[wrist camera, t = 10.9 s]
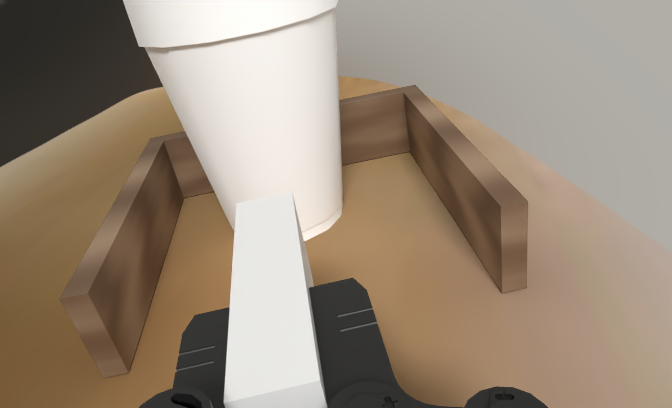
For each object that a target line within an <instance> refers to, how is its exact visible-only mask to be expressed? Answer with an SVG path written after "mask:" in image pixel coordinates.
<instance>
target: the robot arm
mask: <svg viewBox="0 0 672 408" xmlns="http://www.w3.org/2000/svg"><path fill="white" fill-rule="evenodd" d="M179 354H180V356H178V362H177V367H176V369H177V372H176V373H175V379H174V384H173V388H172V389H170V390H167V391H164V392H162V393H159V394H157V395H155V396H154V397H152V398H151V399H149V400H148V401H146V402H145V403H143V404H142V405H141V406H140V407H139V408H462V407H445V406H435V405H429V404H425V403H423V402H420V401H418V400H415V399H414V398H412V397H411V396H409V395H408V394H406V393H405V392H404V391H403V390H402V389H401V387H400V386H399V385H398V383H397V381H396V379H395V377H394V374H393V371H392V368H391V365H390V362H389V358H388V355H387V352H386V349H385V346H384V343H383V340H382V336H381V333H380V330H379V327H378V324H377V321H376V318H375V314H374V311H373V309H372V305H371V302H370V299H369V296H368V293H367V290H366V289H365V288H364V287H363V286H362V285H360V284H359V283H358V282H357V281H356V280H355V279H354V278H350V279H345V280H341V281H337V282H332V283H328V284H323V285H319V286H315V287H314V285H313V279H312V273H311V269H310V265H309V261H308V256H307V252H306V248H305V244H304V240H303V235H302V231H301V227H300V223H299V219H298V215H297V210H296V206H295V202H294V198H293V194H292V191H291V192H287V193H282V194H278V195H273V196H268V197H264V198H259V199H255V200H250V201H245V202H241V203H236V218H235V233H234V249H233V264H232V280H231V295H230V307H229V308H224V309H220V310H215V311H211V312H207V313H202V314H198V315H195V316H194V317H193V319H192V320H191V322H190V323H189V325H188V326H187V328H186V329H185V331H184V332H183V334H182V339H181V345H180V351H179ZM464 408H548V407H547V406H546V405H545V404H544V403H542V402H541V401H540V400H538V399H537V398H536V397H534V396H533V395H532V394H530V393H527V392H525V391H522V390H519V389H516V388H513V387H493V388H489V389H485V390H482V391H479V392H478V393H477V394H475V395H474V396H473V397H471V398H470V399H469V400H468V401H467V403H466V405H465V407H464Z"/></svg>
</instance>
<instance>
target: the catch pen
mask: <svg viewBox="0 0 672 408" xmlns="http://www.w3.org/2000/svg"><path fill="white" fill-rule="evenodd" d="M339 109H340V134H341V160H342V165H346V164H351V163H355V162H360V161H365V160H370V159H375V158H380V157H385V156H390V155H394V154H399V153H404V152H409V151H410V152H411V154H412V156H413V157H414V159H415V160H416V162H417V163H418V165H419V166H420V168H421V169H422V171H423V172H424V174H425V176H426V177H427V179H428V180H429V182H430V183H431V185H432V186H433V188H434V189H435V191H436V192H437V194H438V196H439V197H440V199H441V200H442V202H443V203H444V205H445V206H446V208H447V209H448V211H449V212H450V214H451V215H452V217H453V219H454V220H455V222H456V223H457V225H458V226H459V228H460V229H461V231H462V232H463V234H464V235H465V237H466V239H467V240H468V242H469V243H470V245H471V246H472V248H473V249H474V251H475V252H476V254H477V255H478V257H479V259H480V260H481V262H482V263H483V265H484V266H485V268H486V269H487V271H488V272H489V274H490V275H491V277H492V279H493V280H494V282H495V283H496V285H497V286H498V288H499V289H500V291H501V292H502V293H506V292H511V291H515V290H520V289H525V288H527V229H528V201H527V200H526V199H525V198H524V197H523V196H522V195H521V193H520V192H519V191H518V190H517V189H516V188H515V187H514V186H513V185H512V184H511V183H510V182H509V181H508V180H507V179H506V178H505V177H504V176H503V175H502V174H501V173H500V172H499V171H498V170H497V169H496V168H495V167H494V166H493V165H492V164H491V163H490V162H489V161H488V159H487V158H486V157H485V156H484V155H483V154H482V153H481V152H480V151H479V150H478V149H477V148H476V147H475V146H474V145H473V144H472V143H471V142H470V141H469V140H468V139H467V138H466V137H465V136H464V135H463V134H462V133H461V132H460V131H459V130H458V129H457V128H456V126H455V125H454V124H453V123H452V122H451V121H450V120H449V119H448V118H447V117H446V116H445V115H444V114H443V113H442V112H441V111H440V110H439V109H438V108H437V107H436V106H435V105H434V104H433V103H432V102H431V101H430V100H429V99H428V98H427V97H426V96H425V95H424V94H423V92H421V90H420V89H419V88H418V87H417V86H416V85H412V86H407V87H402V88H397V89H392V90H387V91H382V92H378V93H373V94H368V95H363V96H358V97H353V98H348V99H343V100H339ZM209 192H214V190H213V188H212V186H211V184H210V181H209V179H208V177H207V175H206V173H205V171H204V169H203V167H202V165H201V163H200V161H199V159H198V157H197V155H196V153H195V150H194V148H193V146H192V144H191V142H190V140H189V138H188V136H187V134H186V132H180V133H175V134H170V135H165V136H160V137H155V138H151V139H150V140H149V142H148V144H147V146H146V147H145V149H144V151H143V153H142V155H141V156H140V158H139V160H138V162H137V163H136V165H135V167H134V169H133V170H132V172H131V174H130V176H129V177H128V179H127V181H126V183H125V184H124V186H123V188H122V190H121V192H120V193H119V195H118V197H117V199H116V200H115V202H114V204H113V206H112V207H111V209H110V211H109V213H108V214H107V216H106V218H105V220H104V221H103V223H102V225H101V227H100V229H99V230H98V232H97V234H96V236H95V237H94V239H93V241H92V243H91V244H90V246H89V248H88V250H87V251H86V253H85V255H84V257H83V258H82V260H81V262H80V264H79V266H78V267H77V269H76V271H75V273H74V274H73V276H72V278H71V280H70V281H69V283H68V285H67V287H66V288H65V290H64V292H63V294H62V295H61V297H60V301H61V303H62V304H63V306H64V308H65V310H66V312H67V313H68V315H69V317H70V319H71V321H72V323H73V324H74V326H75V328H76V330H77V332H78V333H79V335H80V337H81V339H82V341H83V342H84V344H85V346H86V348H87V350H88V351H89V353H90V355H91V357H92V359H93V360H94V362H95V364H96V366H97V368H98V370H99V371H100V373H101V375H102V377H103V378H107V377H111V376H116V375H121V374H126V373H129V370H130V367H131V364H132V361H133V358H134V354H135V351H136V348H137V345H138V342H139V339H140V335H141V332H142V329H143V326H144V323H145V319H146V316H147V313H148V310H149V307H150V304H151V300H152V297H153V294H154V291H155V288H156V285H157V281H158V278H159V275H160V272H161V269H162V266H163V262H164V259H165V256H166V253H167V250H168V246H169V243H170V240H171V237H172V234H173V231H174V227H175V224H176V221H177V218H178V215H179V212H180V208H181V205H182V202H183V199H184V198H185V197H190V196H195V195H200V194H204V193H209Z"/></svg>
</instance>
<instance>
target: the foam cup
mask: <svg viewBox="0 0 672 408" xmlns="http://www.w3.org/2000/svg"><path fill="white" fill-rule="evenodd" d="M123 1H124V5H125V7H126V10H127V13H128V16H129V19H130V22H131V25H132V27H133V30H134V33H135V36H136V39H137V42H138V45H139V46H141V47H145V49H146V51H147V53H148V55H149V57H150V59H151V61H152V63H153V65H154V68H155V70H156V72H157V74H158V76H159V78H160V80H161V82H162V84H163V86H164V88H165V90H166V93H167V95H168V97H169V99H170V101H171V103H172V105H173V107H174V109H175V111H176V113H177V115H178V117H179V119H180V121H181V124H182V126H183V128H184V130H185V132H186V134H187V136H188V138H189V140H190V142H191V144H192V146H193V148H194V150H195V153H196V155H197V157H198V159H199V161H200V163H201V165H202V167H203V169H204V171H205V173H206V175H207V177H208V179H209V181H210V184H211V186H212V188H213V190H214V192H215V194H216V196H217V198H218V200H219V202H220V204H221V206H222V208H223V210H224V213H225V215H226V217H227V219H228V221H229V223H230V225H231V227H232V229H233V230H234V232H235V218H236V203H241V202H245V201H250V200H255V199H259V198H264V197H268V196H273V195H278V194H282V193H287V192H291V191H292V194H293V198H294V202H295V206H296V210H297V215H298V219H299V223H300V227H301V231H302V235H303V240H304V241H306V240H308V239H310V238H312V237H314V236H316V235H318V234H320V233H322V232H324V231H326V230H328V229H329V228H330V227H331V226H332V225H333V224H334V223H335V222H336V221H337V220H338V219H339V218H340V217H341V214H342V206H343V201H342V195H343V185H342V160H341V134H340V109H339V84H338V59H337V35H336V34H337V33H336V8H335V7H336V5H337V3H338V1H339V0H123Z"/></svg>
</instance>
